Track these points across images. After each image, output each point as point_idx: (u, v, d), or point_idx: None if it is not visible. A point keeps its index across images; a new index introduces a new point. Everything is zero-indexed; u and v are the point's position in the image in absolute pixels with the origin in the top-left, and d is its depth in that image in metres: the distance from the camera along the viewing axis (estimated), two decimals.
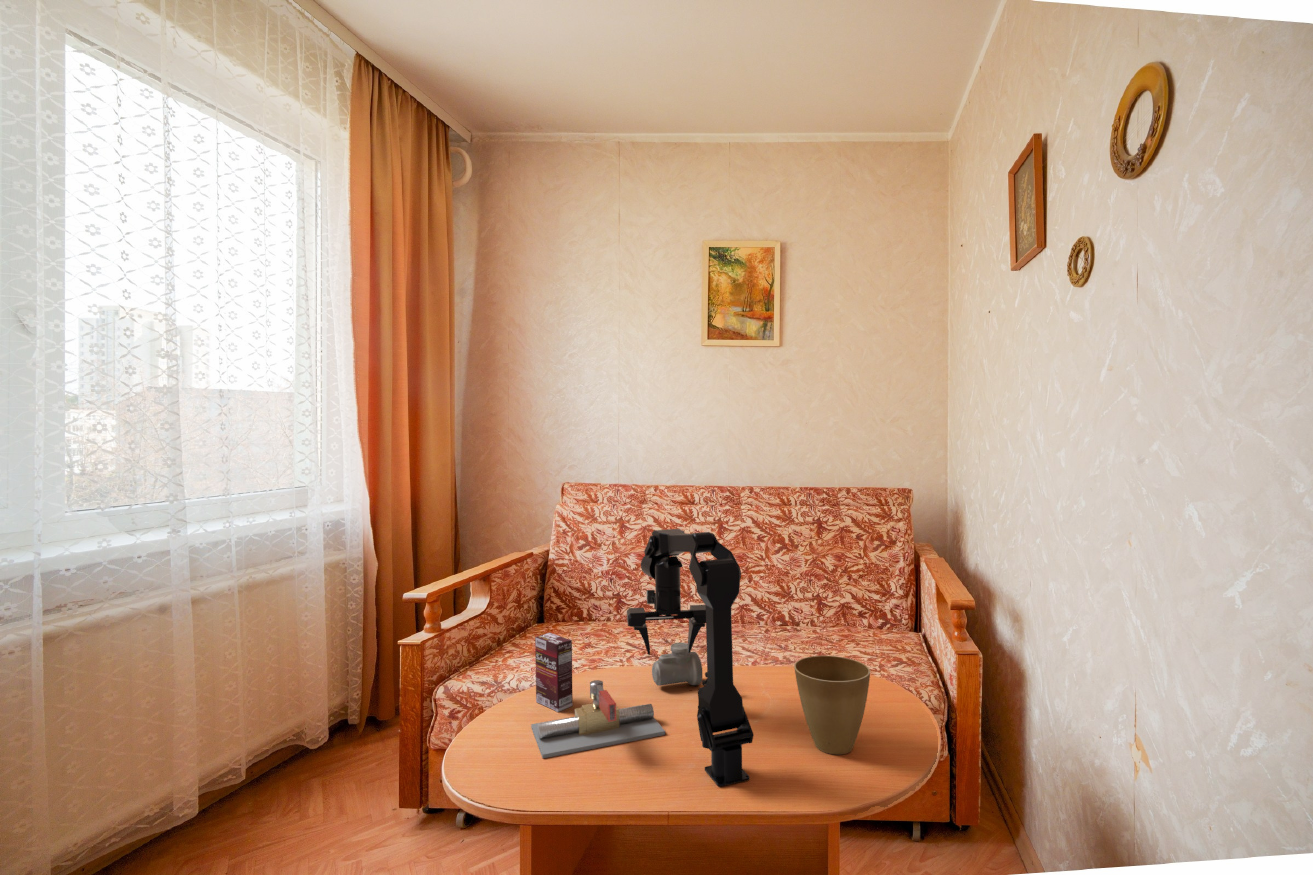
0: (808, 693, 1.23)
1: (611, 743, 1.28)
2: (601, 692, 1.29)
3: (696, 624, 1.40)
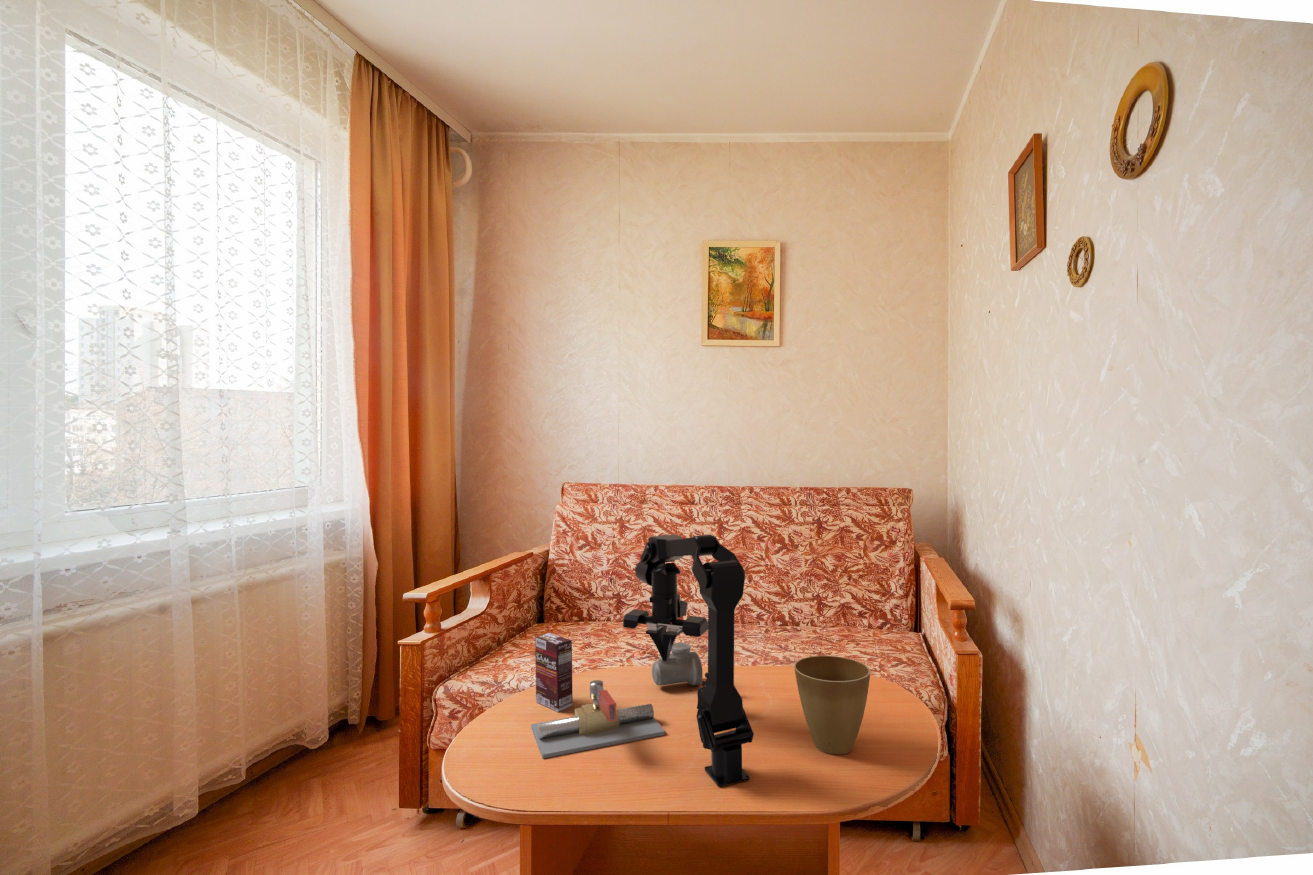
0: (808, 693, 1.23)
1: (611, 743, 1.28)
2: (601, 692, 1.29)
3: (667, 633, 1.37)
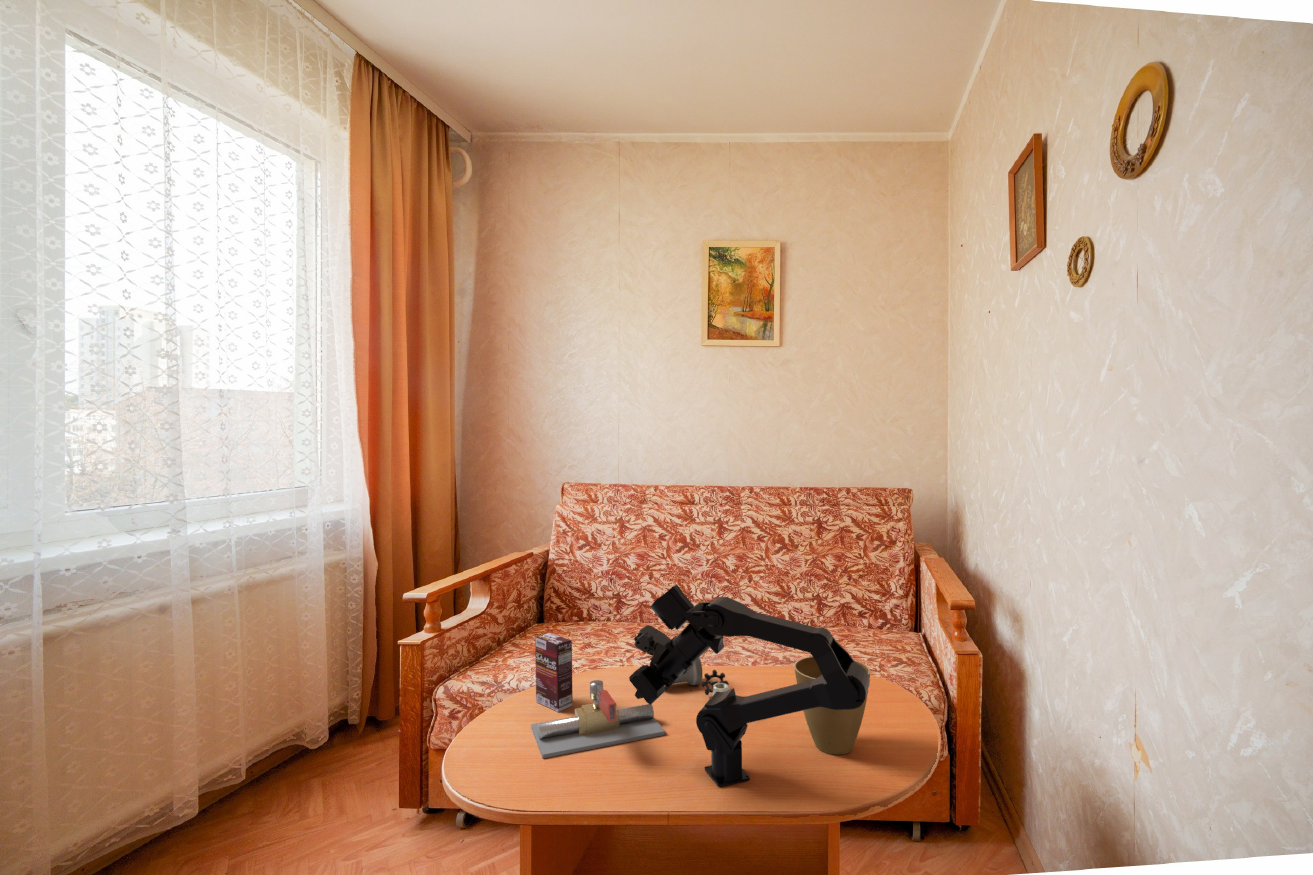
0: None
1: (611, 743, 1.28)
2: (601, 692, 1.29)
3: (669, 681, 1.23)
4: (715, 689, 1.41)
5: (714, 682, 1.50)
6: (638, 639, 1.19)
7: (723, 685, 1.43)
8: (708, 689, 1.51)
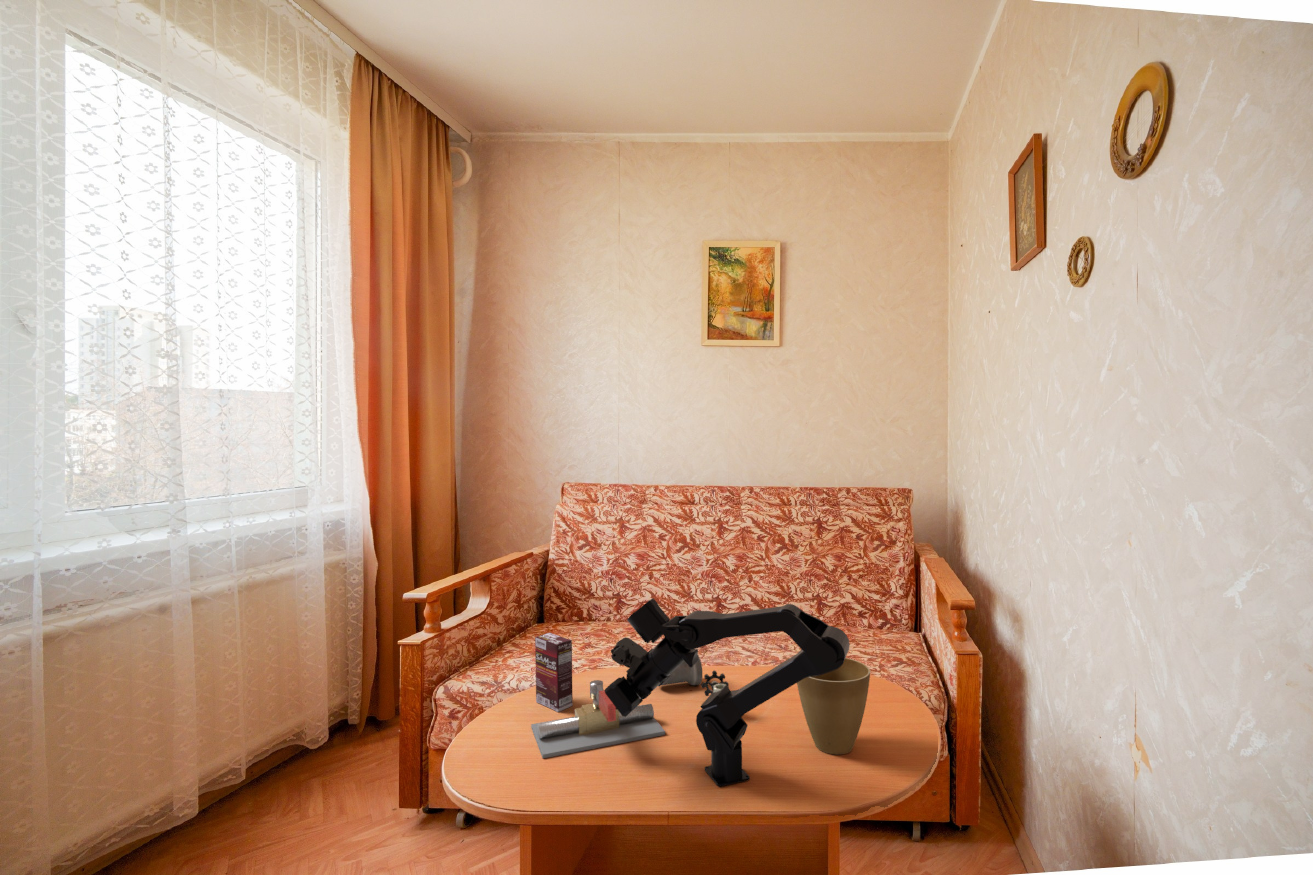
0: (808, 693, 1.23)
1: (611, 743, 1.28)
2: (601, 692, 1.29)
3: (645, 693, 1.25)
4: (715, 690, 1.40)
5: (714, 683, 1.49)
6: (614, 652, 1.21)
7: (723, 686, 1.42)
8: (708, 690, 1.50)
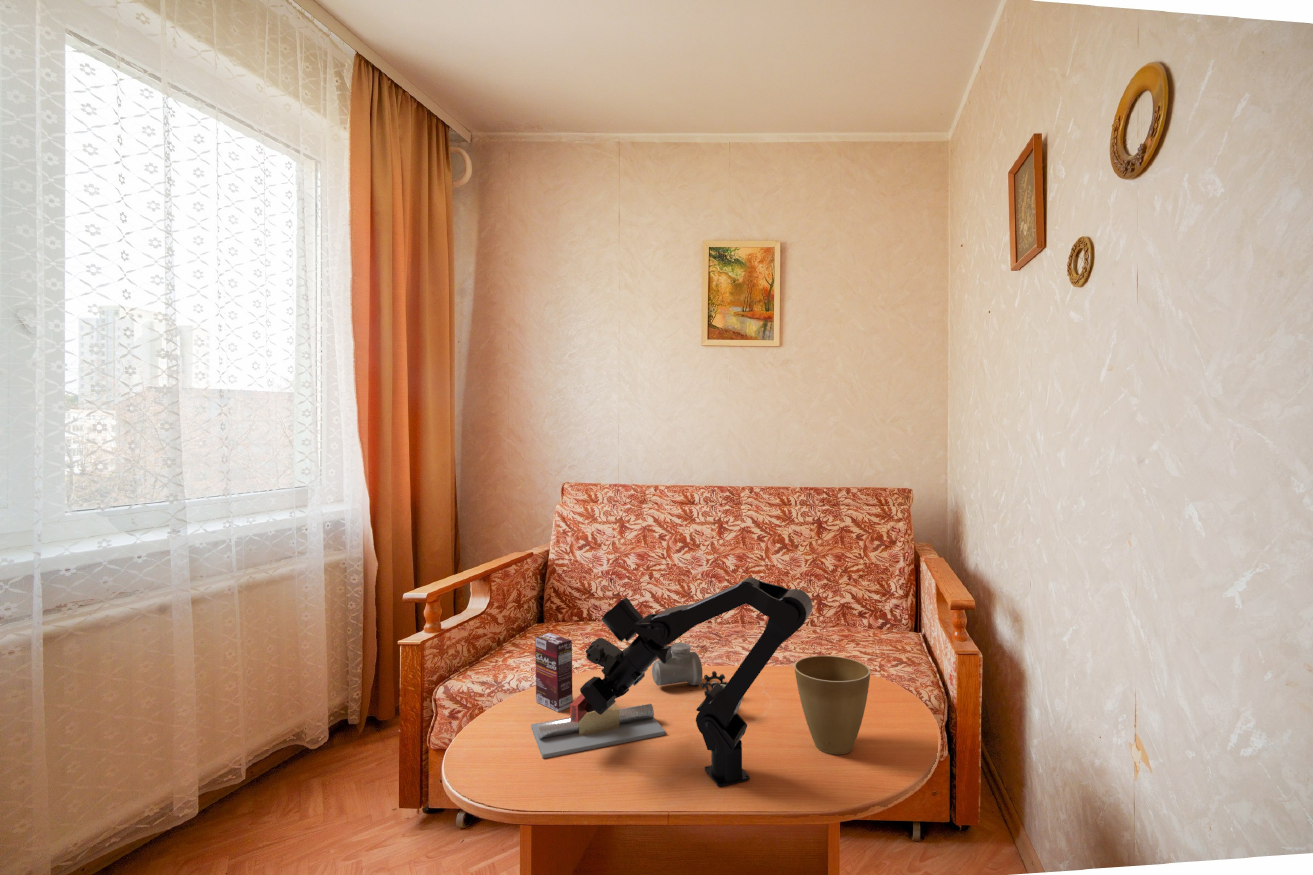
0: (808, 693, 1.23)
1: (611, 743, 1.28)
2: None
3: None
4: None
5: (714, 683, 1.49)
6: (589, 651, 1.23)
7: (723, 686, 1.42)
8: (708, 691, 1.50)
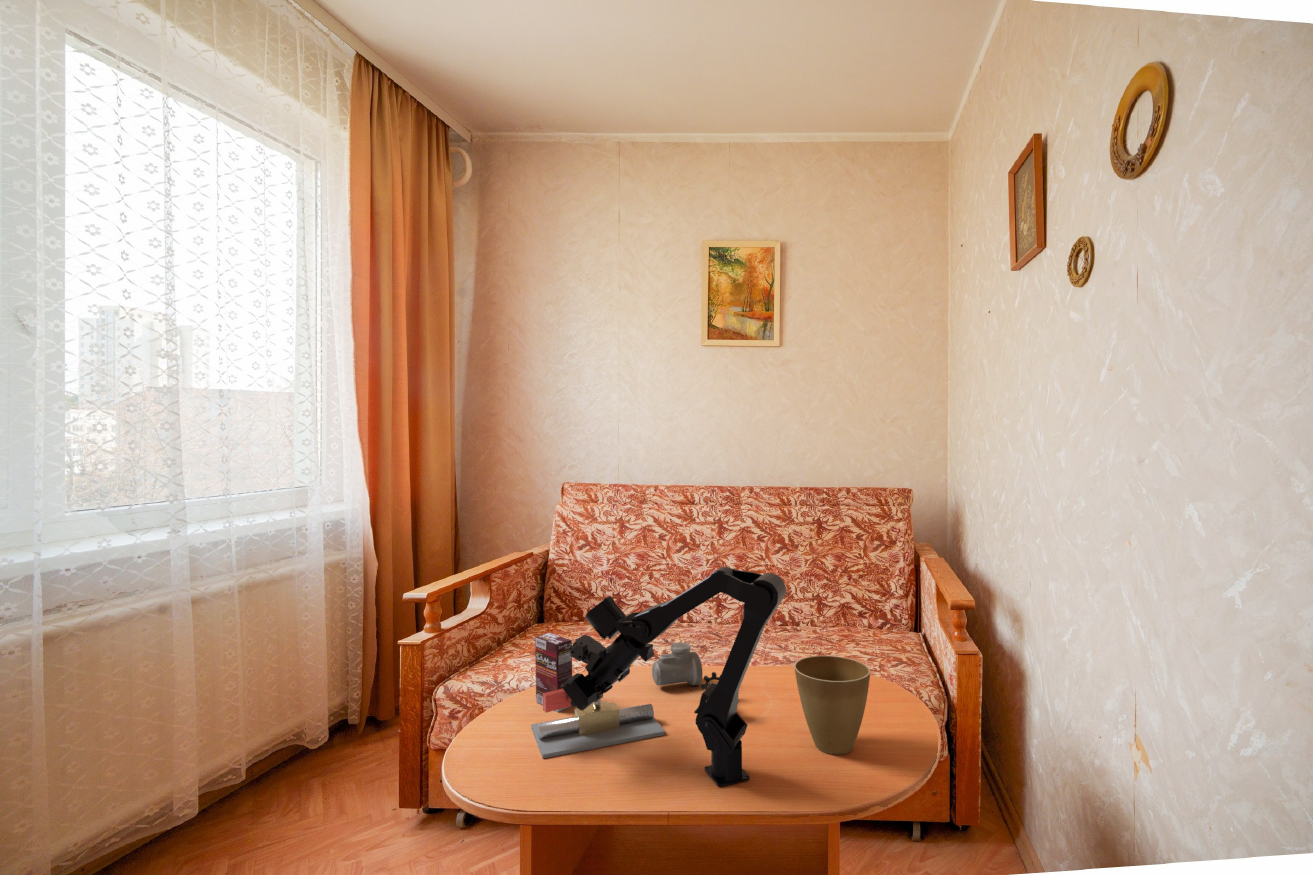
0: (808, 693, 1.23)
1: (611, 743, 1.28)
2: None
3: (607, 687, 1.29)
4: None
5: None
6: (573, 648, 1.25)
7: None
8: None
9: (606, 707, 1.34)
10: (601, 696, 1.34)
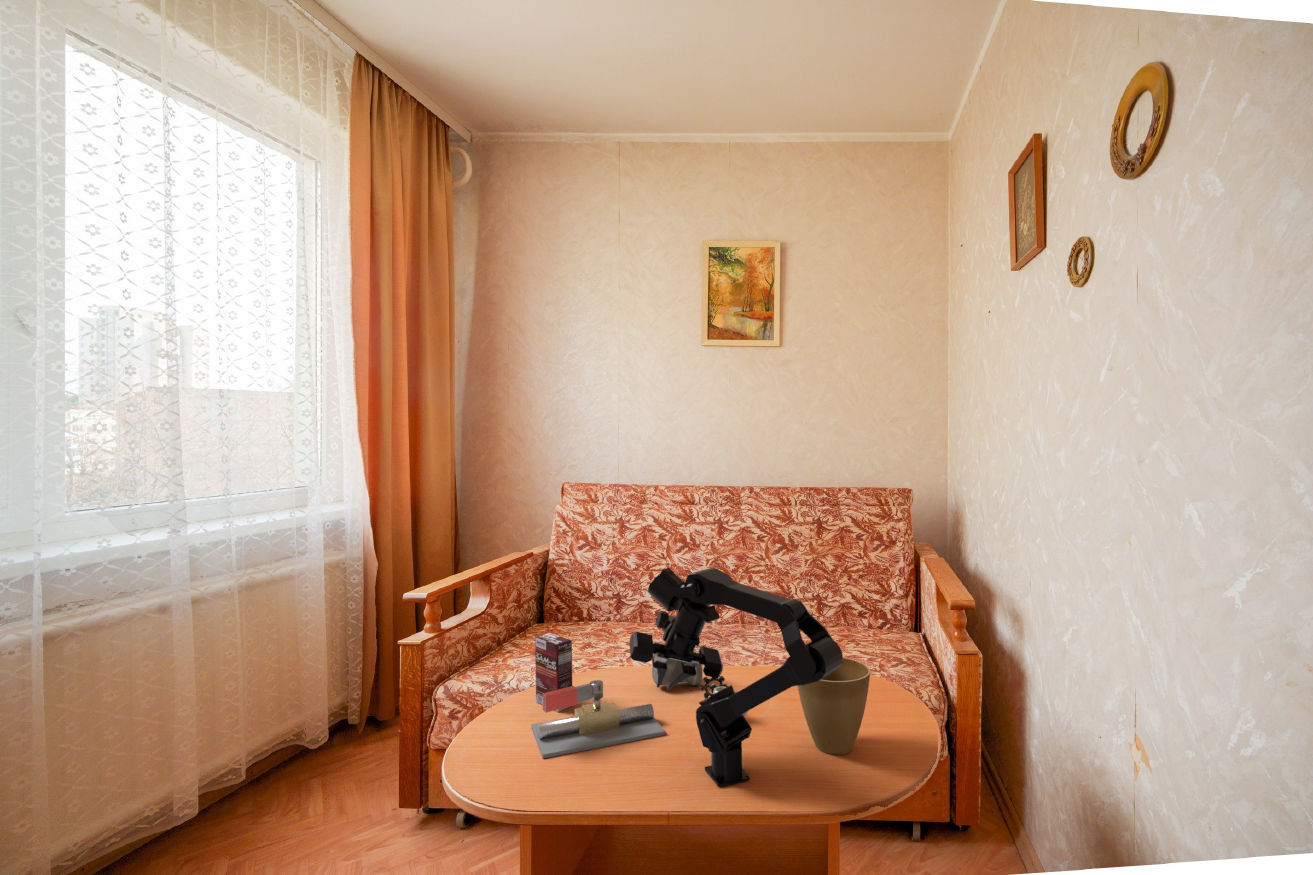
0: (808, 693, 1.23)
1: (611, 743, 1.28)
2: (570, 687, 1.32)
3: (686, 671, 1.23)
4: None
5: (713, 686, 1.48)
6: (657, 616, 1.30)
7: None
8: (707, 693, 1.49)
9: (606, 707, 1.34)
10: (601, 696, 1.34)
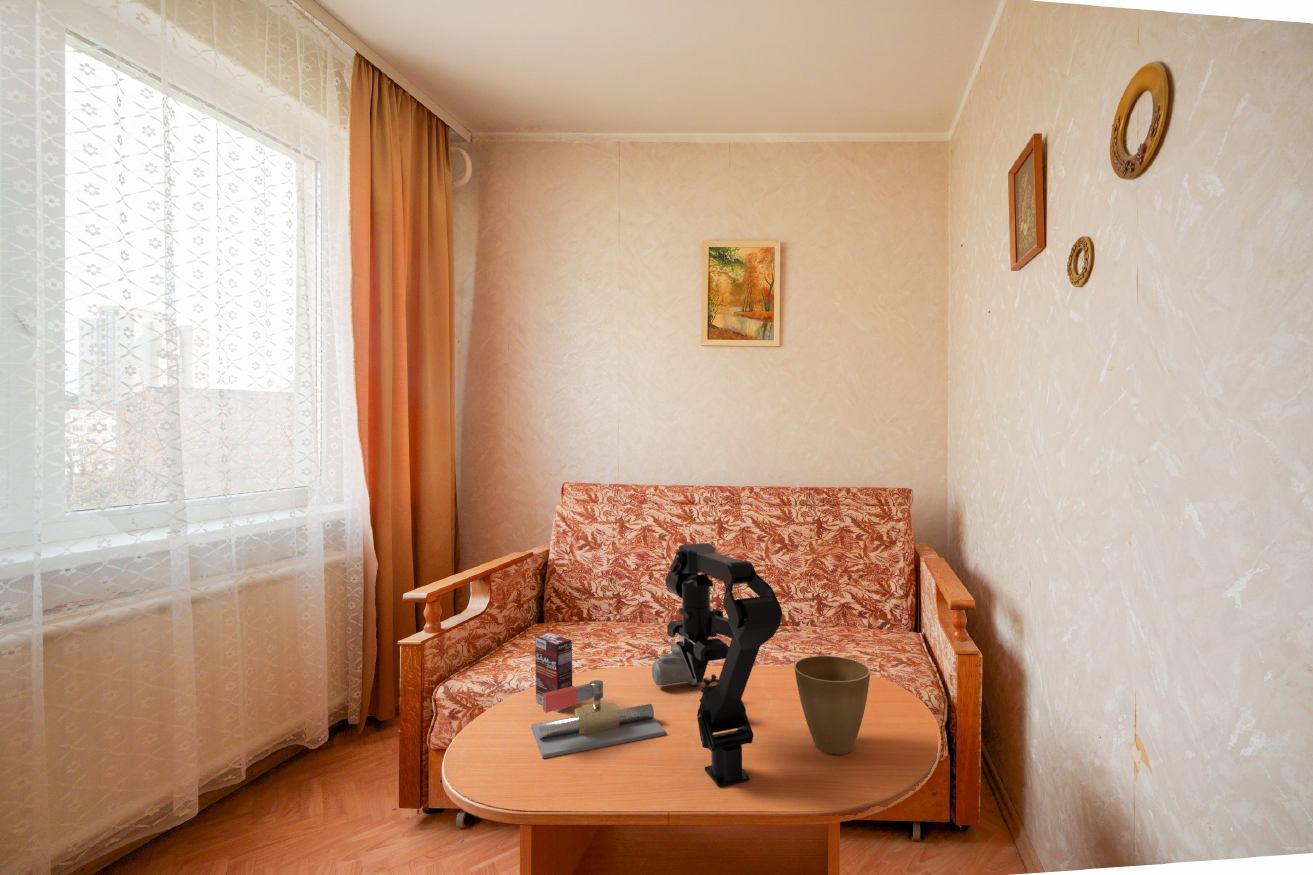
0: (808, 693, 1.23)
1: (611, 743, 1.28)
2: (570, 687, 1.32)
3: (691, 652, 1.25)
4: None
5: None
6: None
7: None
8: None
9: (606, 707, 1.34)
10: (601, 696, 1.34)
